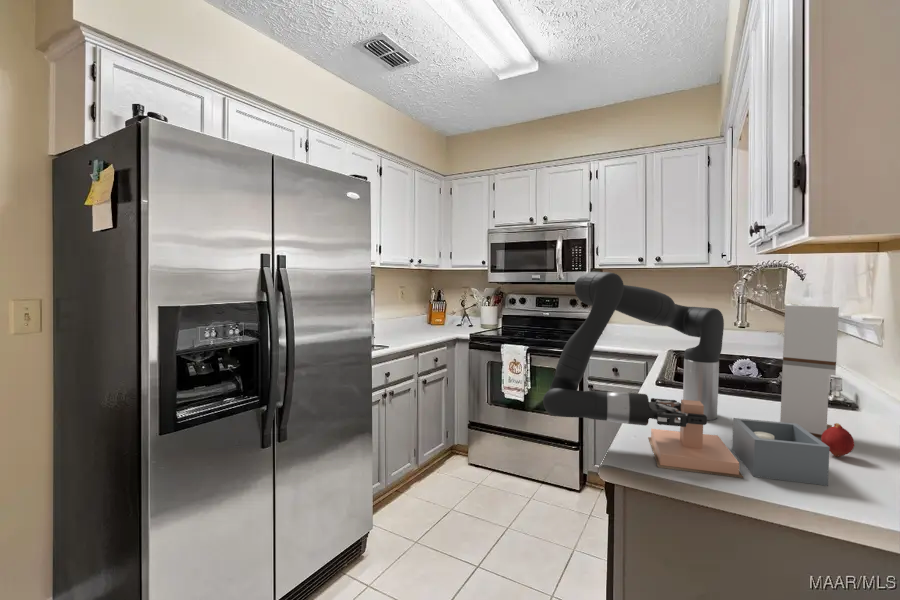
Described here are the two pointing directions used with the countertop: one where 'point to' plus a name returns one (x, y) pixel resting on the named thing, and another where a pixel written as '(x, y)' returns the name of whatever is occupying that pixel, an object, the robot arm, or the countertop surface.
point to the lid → (693, 446)
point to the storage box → (780, 451)
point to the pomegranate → (838, 440)
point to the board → (688, 468)
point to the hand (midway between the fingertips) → (702, 414)
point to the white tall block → (808, 365)
